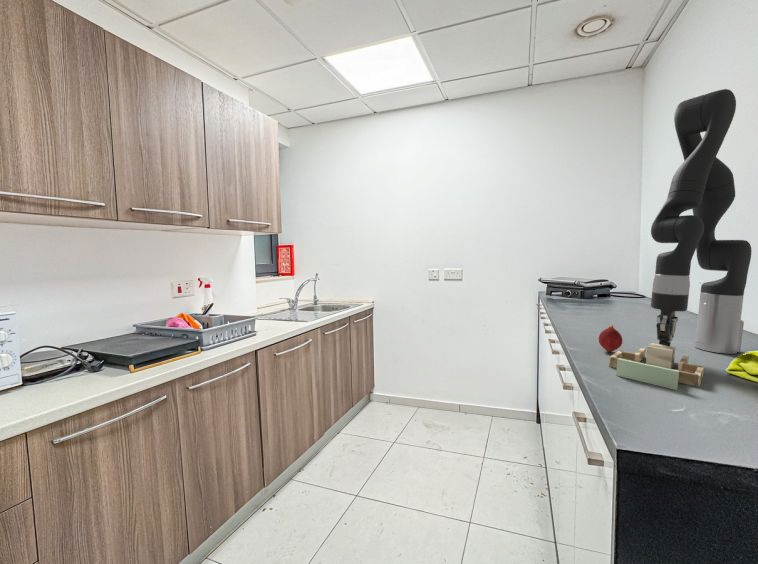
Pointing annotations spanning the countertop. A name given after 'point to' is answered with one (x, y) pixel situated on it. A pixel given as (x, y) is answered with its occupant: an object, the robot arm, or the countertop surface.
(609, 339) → the onion
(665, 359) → the block
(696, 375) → the channel
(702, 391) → the countertop surface
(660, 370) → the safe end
